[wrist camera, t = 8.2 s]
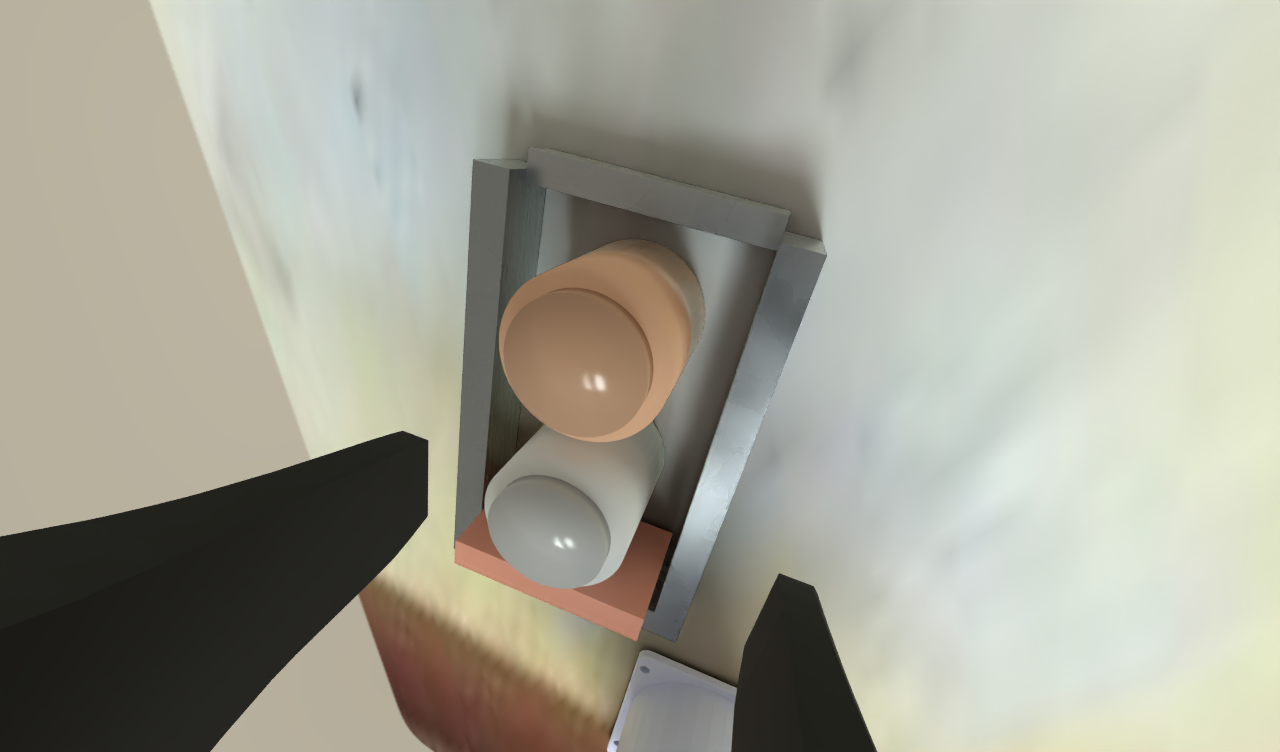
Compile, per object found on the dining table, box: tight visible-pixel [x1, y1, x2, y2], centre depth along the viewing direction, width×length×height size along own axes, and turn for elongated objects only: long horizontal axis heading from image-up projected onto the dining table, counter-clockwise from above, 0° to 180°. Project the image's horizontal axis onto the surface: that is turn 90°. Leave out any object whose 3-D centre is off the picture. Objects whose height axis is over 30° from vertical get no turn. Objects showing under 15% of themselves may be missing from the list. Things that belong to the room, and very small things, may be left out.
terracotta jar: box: [499, 239, 705, 442], centre depth 15 cm, size 5×5×6 cm
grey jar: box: [485, 422, 665, 589], centre depth 18 cm, size 5×5×6 cm
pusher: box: [454, 508, 673, 641], centre depth 20 cm, size 2×7×4 cm, turn 77°
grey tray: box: [454, 148, 827, 643], centre depth 18 cm, size 17×10×2 cm, turn 167°
